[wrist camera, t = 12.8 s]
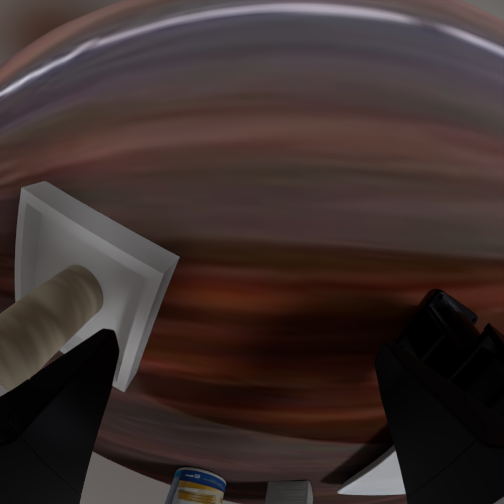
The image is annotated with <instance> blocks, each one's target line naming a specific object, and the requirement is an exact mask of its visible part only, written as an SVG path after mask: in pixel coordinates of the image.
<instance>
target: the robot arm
mask: <svg viewBox="0 0 504 504" xmlns="http://www.w3.org/2000/svg"><path fill="white" fill-rule="evenodd" d="M439 295H440V297H438V296H439ZM472 319H473V320H472ZM477 320H478V316H477V315H476V314H475V313H474V312H472V311H471V310H469V309H468V308H467V307H465V306H464V305H462V304H461V303H460V302H458V301H457V300H455V299H454V298H453V297H451V296H450V295H448V294H447V293H445V292H444V291H442V290H437V291H436V292H435V293H434V294H433V296H432V297H431V298H430V300H429V301H428V303H427V304H426V305H425V307H424V308H423V309H422V311H421V312H420V313H419V314H418V316H417V317H416V318H415V320H414V321H413V322H412V323H411V325H410V326H409V327H408V328H407V330H406V331H405V332H404V333H403V335H402V336H401V337H400V338H399V339H398V341H397V342H396V343H395V342H384V343H383V344H382V345H381V348H380V350H379V352H378V354H377V356H376V359H375V369H376V374H377V379H378V384H379V389H380V395H381V399H382V403H383V407H384V410H385V414H386V417H387V421H388V424H389V428H390V432H391V435H392V439H393V443H394V446H395V450H396V454H397V458H398V462H399V466H400V471H401V475H402V479H403V484H404V488H405V493H406V499H407V503H408V504H504V335H503V334H501V333H500V332H499V331H498V330H497V329H496V328H494V327H493V326H492V325H491V324H489V323H488V324H487V325H486V327H485V328H484V329H485V330H484V331H483V332H482V334H480V333H479V331H478V330H477V329H476V328H475V326H474V324H475V323H476V322H477ZM400 345H401V346H400ZM119 351H120V350H119V345H118V341H117V337H116V333H115V331H114V330H112V329H106V328H103V329H101V330H99V331H98V332H96V333H95V334H93V335H92V336H90V337H89V338H87V339H86V340H84V341H83V342H81V343H80V344H78V345H77V346H75V347H74V348H72V349H71V350H70V351H68V352H67V353H65V354H64V355H62V356H61V357H59V358H58V359H56V360H55V361H53V362H52V363H50V364H49V365H48V366H46V367H45V368H43V369H42V370H40V371H39V372H37V373H36V374H34V375H33V376H32V377H30V379H27V380H26V381H24V382H23V383H21V384H20V385H18V386H17V387H15V388H14V389H12V390H11V391H9V392H7V393H6V394H4V395H3V396H1V397H0V504H79V503H80V498H81V493H82V489H83V485H84V481H85V477H86V473H87V469H88V465H89V462H90V458H91V454H92V451H93V447H94V444H95V440H96V437H97V434H98V430H99V427H100V424H101V421H102V417H103V414H104V411H105V408H106V405H107V402H108V399H109V396H110V393H111V389H112V384H113V379H114V375H115V370H116V366H117V362H118V358H119Z"/></svg>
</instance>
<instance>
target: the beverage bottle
mask: <svg viewBox="0 0 504 504" xmlns="http://www.w3.org/2000/svg"><path fill="white" fill-rule="evenodd" d="M225 488H226V482H225V480H224V479H223V478H221V477H220V476H218V475H217V474H215V473H212V472H210V471H207V470H203V469H199V468H192V467H184V468H180V469H178V470H177V471H176V473H175V475H174V479H173V482H172V485H171V488H170V491H169V493H168V496H167V499H166V502H165V504H222V500H223V495H224V492H225Z"/></svg>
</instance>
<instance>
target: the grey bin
mask: <svg viewBox="0 0 504 504" xmlns="http://www.w3.org/2000/svg"><path fill="white" fill-rule="evenodd" d="M179 258H180V257H179V256H177V255H175V254H173V253H171V252H170V251H168V250H166V249H164V248H162V247H160V246H158V245H157V244H155V243H153V242H151V241H149V240H147V239H146V238H144V237H142V236H140V235H138V234H136V233H135V232H133V231H131V230H129V229H127V228H126V227H124V226H122V225H120V224H119V223H117V222H115V221H113V220H111V219H110V218H108V217H106V216H104V215H103V214H101V213H99V212H97V211H96V210H94V209H92V208H91V207H89V206H87V205H85V204H84V203H82V202H80V201H78V200H77V199H75V198H73V197H72V196H70V195H68V194H67V193H65V192H63V191H62V190H60V189H58V188H57V187H55V186H53V185H52V184H50V183H48V182H47V181H44V182H40V183H36V184H32V185H29V186H25V187H22V189H21V196H20V203H19V211H18V220H17V231H16V247H15V303H16V302H17V301H18V300H20V299H21V298H23V297H24V296H25V295H27V294H28V293H30V292H31V291H33V290H34V289H36V288H37V287H39V286H40V285H41V284H43V283H44V282H46V281H47V280H49V279H50V278H52V277H54V276H55V275H57V274H58V273H60V272H61V271H63V270H64V269H66V268H67V267H69V266H71V265H80V266H83V267H85V268H86V269H88V270H89V271H90V272H91V273H92V274H93V275H94V276H95V278H96V279H97V281H98V282H99V284H100V286H101V289H102V292H103V306H102V308H101V310H100V311H99V312H98V313H96V314H95V315H94V316H93V317H92V318H91V319H90V320H89V321H88V322H87V323H86V324H85V325H84V326H83V327H82V328H81V329H80V330H79V331H78V332H77V333H76V334H75V335H74V336H73V337H72V338H71V339H70V340H68V341H67V342H66V343H65V344H64V345H63V346H62V347H61V348H60V349H59V350H60V351H61V352H62V353H64V354H65V353H67V352H68V351H70V350H71V349H72V348H74V347H75V346H77V345H78V344H80V343H81V342H83V341H84V340H86V339H87V338H89V337H90V336H92V335H93V334H95V333H96V332H98V331H99V330H101V329H103V328H106V329H112V330H114V331H115V333H116V337H117V341H118V345H119V350H120V351H119V358H118V362H117V366H116V370H115V375H114V379H113V384H112V386H114V387H116V388H117V389H119V390H121V391H122V392H125V390H126V389H127V387H128V386H129V384H130V382H131V381H132V379H133V378H134V376H135V374H136V373H137V370H138V367H139V364H140V361H141V358H142V355H143V352H144V349H145V346H146V344H147V341H148V338H149V335H150V332H151V330H152V327H153V324H154V321H155V319H156V316H157V313H158V311H159V308H160V305H161V303H162V300H163V298H164V295H165V292H166V290H167V287H168V285H169V282H170V280H171V277H172V275H173V272H174V270H175V267H176V265H177V262H178V260H179Z"/></svg>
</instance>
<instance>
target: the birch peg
mask: <svg viewBox="0 0 504 504" xmlns="http://www.w3.org/2000/svg"><path fill="white" fill-rule="evenodd" d="M102 306H103V292H102V289H101V286H100V284H99V282H98V281H97V279H96V278H95V276H94V275H93V274H92V273H91V272H90V271H89V270H88V269H86V268H85V267H83V266H80V265H71V266H69V267H67V268H66V269H64V270H63V271H61V272H60V273H58V274H57V275H55V276H54V277H52V278H50V279H49V280H47V281H46V282H44V283H43V284H41V285H40V286H39V287H37V288H36V289H34V290H33V291H31V292H30V293H28V294H27V295H25V296H24V297H23V298H21V299H20V300H18V301H17V302H16V303H14V304H13V305H11V306H10V307H9V308H7V309H6V310H4V311H3V312H2V313H0V384H1V385H2V386H3V387H4V388H5V389H6V390H8V391H11V390H12V389H14V388H15V387H17V386H18V385H20V384H21V383H23V382H24V381H26V380H27V379H30V377H32V376H33V375H34V374H36V373H37V372H38V371H39V370H40V369H41V368H42V367H43V366H44V365H45V364H46V363H47V362H48V361H49V360H50V359H51V358H52V357H53V356H54V354H55V353H56V352H57V351H58V350H59V349H60V348H61V347H62V346H63V345H64V344H65V343H66V342H67V341H68V340H70V339H71V338H72V337H73V336H74V335H75V334H76V333H77V332H78V331H79V330H80V329H81V328H82V327H83V326H84V325H85V324H86V323H87V322H88V321H89V320H90V319H91V318H92V317H93V316H94V315H95V314H96V313H98V312H99V311H100V310H101V308H102Z"/></svg>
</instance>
